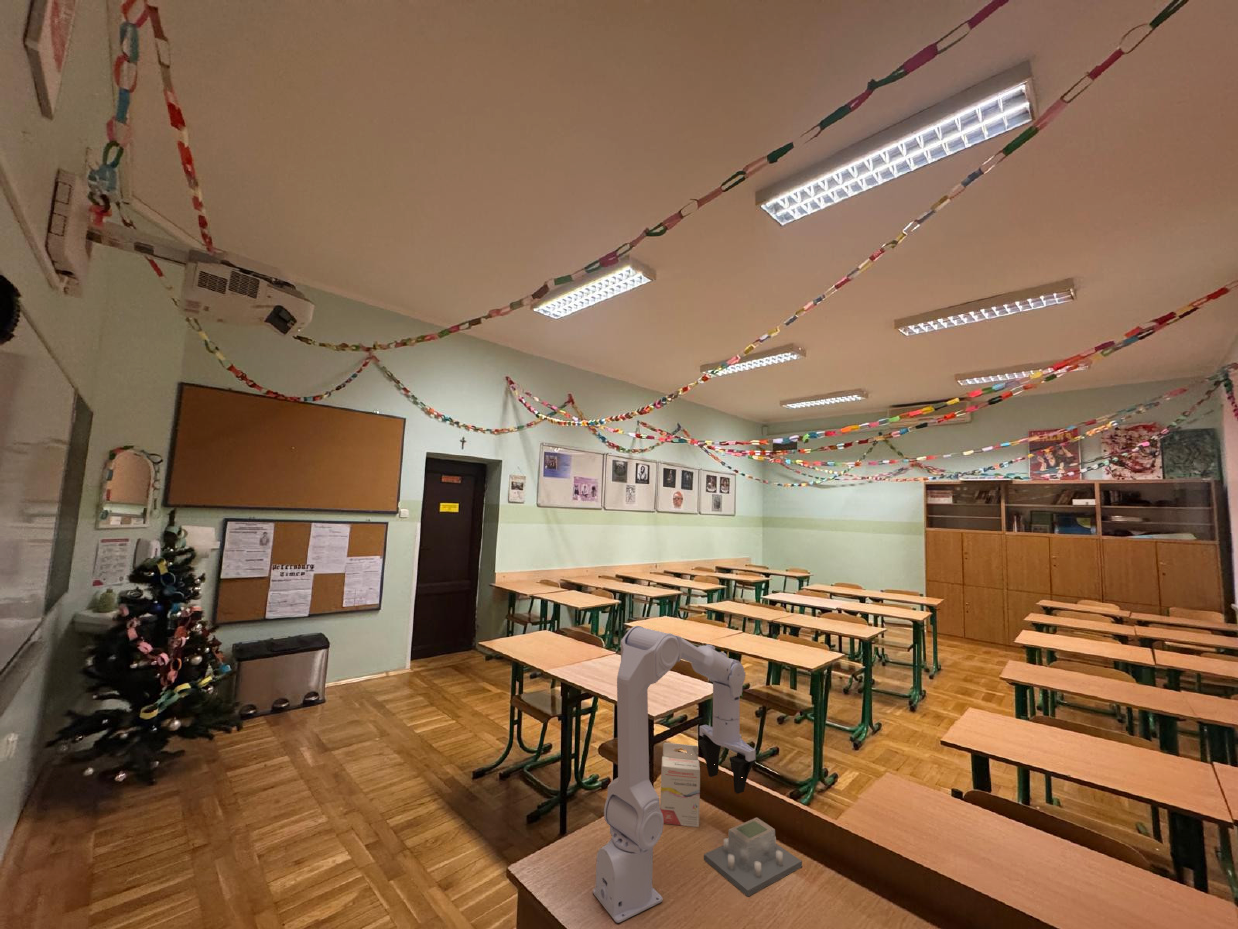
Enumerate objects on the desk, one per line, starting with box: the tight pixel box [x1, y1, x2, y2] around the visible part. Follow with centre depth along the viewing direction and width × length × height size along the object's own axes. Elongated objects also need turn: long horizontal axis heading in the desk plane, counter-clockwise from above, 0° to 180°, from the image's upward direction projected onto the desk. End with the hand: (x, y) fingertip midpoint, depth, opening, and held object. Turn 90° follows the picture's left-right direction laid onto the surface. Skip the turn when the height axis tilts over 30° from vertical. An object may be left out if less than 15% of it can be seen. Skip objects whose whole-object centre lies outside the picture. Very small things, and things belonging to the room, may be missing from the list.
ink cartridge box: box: [659, 742, 701, 828], centre depth 106 cm, size 9×5×15 cm, turn 84°
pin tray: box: [703, 835, 803, 898], centre depth 92 cm, size 15×11×3 cm
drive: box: [728, 817, 776, 872], centre depth 92 cm, size 8×4×5 cm, turn 123°
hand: (725, 783), depth 102 cm, fingers open, 7 cm apart
